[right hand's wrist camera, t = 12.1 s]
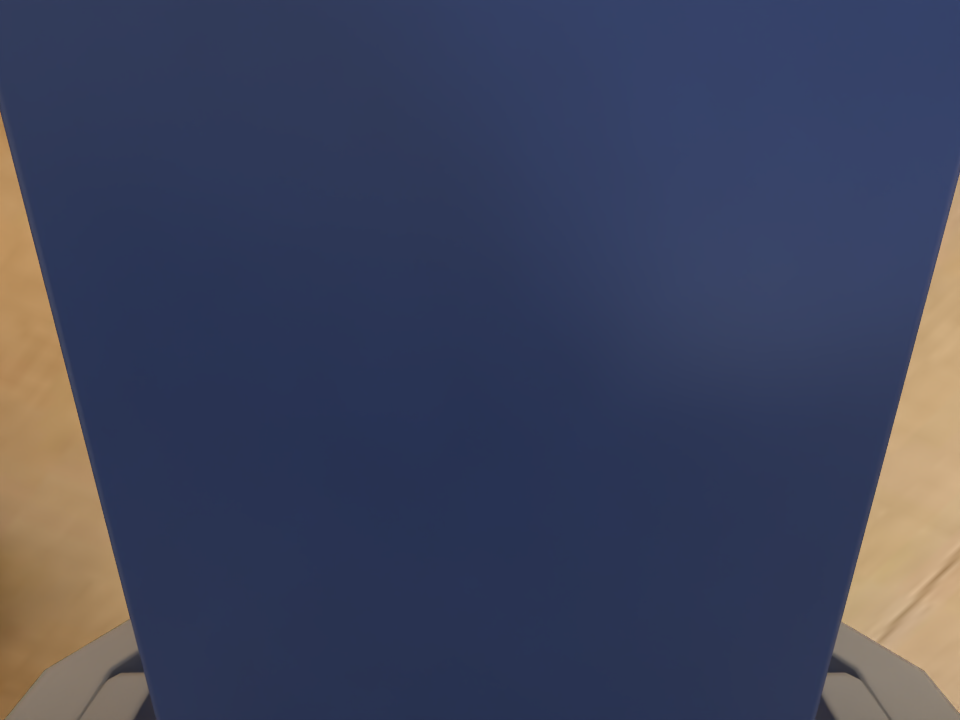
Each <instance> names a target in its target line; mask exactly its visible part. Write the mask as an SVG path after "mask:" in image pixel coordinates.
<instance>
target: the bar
mask: <svg viewBox="0 0 960 720" xmlns="http://www.w3.org/2000/svg"><path fill="white" fill-rule="evenodd" d="M0 112H1V116H2V120H3V123H4V127H5V131H6V135H7V139H8V143H9V147H10V151H11V155H12V159H13V163H14V166H15V170H16V174H17V178H18V182H19V186H20V190H21V194H22V198H23V202H24V205H25V209H26V213H27V217H28V221H29V225H30V229H31V233H32V237H33V241H34V244H35V248H36V252H37V256H38V260H39V264H40V268H41V272H42V276H43V280H44V284H45V287H46V291H47V295H48V299H49V303H50V307H51V311H52V315H53V319H54V323H55V326H56V330H57V334H58V338H59V342H60V346H61V350H62V354H63V358H64V362H65V366H66V369H67V373H68V377H69V381H70V385H71V389H72V393H73V397H74V401H75V405H76V408H77V412H78V416H79V420H80V424H81V428H82V432H83V436H84V440H85V444H86V448H87V451H88V455H89V459H90V463H91V467H92V471H93V475H94V479H95V483H96V487H97V490H98V494H99V498H100V502H101V506H102V510H103V514H104V518H105V522H106V526H107V530H108V533H109V537H110V541H111V545H112V549H113V553H114V557H115V561H116V565H117V569H118V572H119V576H120V580H121V584H122V588H123V592H124V596H125V600H126V604H127V608H128V611H129V615H130V619H131V623H132V627H133V631H134V635H135V639H136V643H137V647H138V651H139V654H140V658H141V662H142V666H143V670H144V674H145V678H146V682H147V686H148V690H149V693H150V697H151V701H152V705H153V709H154V713H155V717H156V720H815V718H816V714H817V710H818V706H819V703H820V699H821V695H822V691H823V688H824V684H825V680H826V676H827V672H828V669H829V665H830V661H831V657H832V653H833V650H834V646H835V642H836V638H837V635H838V631H839V627H840V623H841V619H842V616H843V612H844V608H845V604H846V601H847V597H848V593H849V589H850V585H851V582H852V578H853V574H854V570H855V567H856V563H857V559H858V555H859V551H860V548H861V544H862V540H863V536H864V533H865V529H866V525H867V521H868V517H869V514H870V510H871V506H872V502H873V498H874V495H875V491H876V487H877V483H878V480H879V476H880V472H881V468H882V464H883V461H884V457H885V453H886V449H887V446H888V442H889V438H890V434H891V430H892V427H893V423H894V419H895V415H896V412H897V408H898V404H899V400H900V396H901V393H902V389H903V385H904V381H905V378H906V374H907V370H908V366H909V362H910V359H911V355H912V351H913V347H914V343H915V340H916V336H917V332H918V328H919V325H920V321H921V317H922V313H923V309H924V306H925V302H926V298H927V294H928V291H929V287H930V283H931V279H932V275H933V272H934V268H935V264H936V260H937V257H938V253H939V249H940V245H941V241H942V238H943V234H944V230H945V226H946V223H947V219H948V215H949V211H950V207H951V204H952V200H953V196H954V192H955V188H956V185H957V181H958V177H959V173H960V0H0Z"/></svg>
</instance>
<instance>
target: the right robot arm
mask: <svg viewBox="0 0 960 720" xmlns="http://www.w3.org/2000/svg"><path fill="white" fill-rule="evenodd" d="M4 720H156V717H155V713H154V709H153V705H152V701H151V697H150V693H149V690H148V686H147V682H146V678H145V674H144V670H143V666H142V662H141V658H140V654H139V651H138V647H137V643H136V639H135V635H134V631H133V627H132V623H131V619H129V620H127V621H126V622H124V623H122V624H121V625H119V626H117V627H116V628H114V629H112V630H111V631H109V632H107V633H106V634H104V635H102V636H101V637H99V638H97V639H96V640H94V641H92V642H91V643H89V644H87V645H86V646H84V647H82V648H81V649H79V650H77V651H76V652H74V653H72V654H71V655H69V656H67V657H66V658H64V659H62V660H61V661H59V662H57V663H56V664H54V665H52V666H51V667H49V668H47V669H46V670H44V672H43V673H42V674H41V675H40V676H39V678H38V679H37V680H36V681H35V683H34V684H33V685H32V686H31V687H30V689H29V690H28V691H27V692H26V694H25V695H24V696H23V697H22V698H21V700H20V701H19V702H18V703H17V705H16V706H15V707H14V708H13V710H12V711H11V712H10V713H9V714H8V716H7V717H6V718H5V719H4ZM815 720H960V714H959V712H958V711H957V710H956V709H955V708H954V706H953V705H952V704H951V703H950V702H949V700H948V699H947V698H946V697H945V695H944V694H943V693H942V692H941V691H940V689H939V688H938V687H937V686H936V685H935V683H934V682H933V681H932V680H931V679H930V677H929V676H928V675H927V674H926V672H925V671H924V670H922V669H920V668H918V667H917V666H915V665H913V664H912V663H910V662H908V661H907V660H905V659H903V658H902V657H900V656H898V655H897V654H895V653H893V652H892V651H890V650H888V649H887V648H885V647H883V646H881V645H880V644H878V643H876V642H875V641H873V640H871V639H870V638H868V637H866V636H865V635H863V634H861V633H860V632H858V631H856V630H855V629H853V628H851V627H850V626H848V625H846V624H844V623H843V622H841V623H840V627H839V631H838V635H837V638H836V642H835V646H834V650H833V653H832V657H831V661H830V665H829V669H828V672H827V676H826V680H825V684H824V688H823V691H822V695H821V699H820V703H819V706H818V710H817V714H816V718H815Z"/></svg>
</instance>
